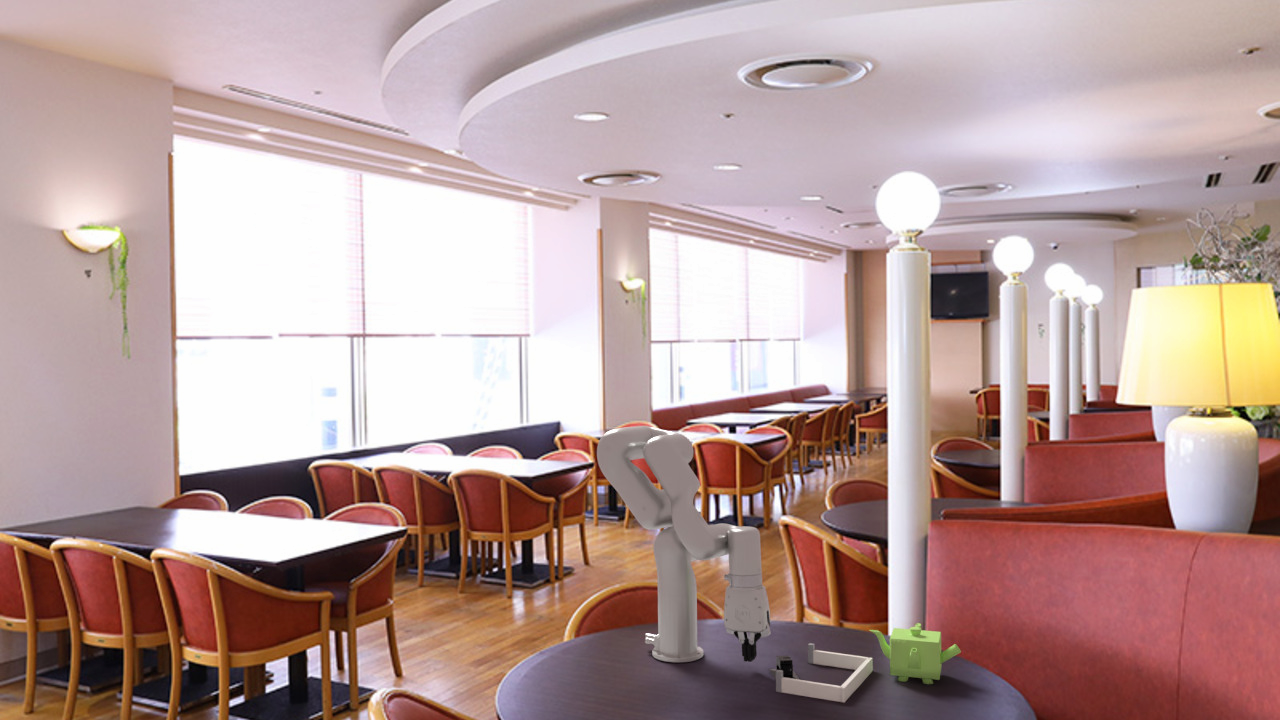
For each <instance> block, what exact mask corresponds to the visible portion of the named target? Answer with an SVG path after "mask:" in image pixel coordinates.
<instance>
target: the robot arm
mask: <svg viewBox="0 0 1280 720" xmlns="http://www.w3.org/2000/svg"><path fill="white" fill-rule="evenodd" d="M693 457H694V447H693V444H692V442H691V440H690V439H689V437H687V436H685V435H684V434H681V433H679V432H674V431H670V430H666V429H661V428H657V427H653V426H649V425H648V426H647V425H637V426H636V425H635V426H627V427H618V428H613V429H611V430H609V431H606V432H605V433H604V434H603V435H602V436H601V437H600V439H599V441H598V444H597V448H596V458H597V464H598V467H599V469H600V471H601V473H602V474H603V476H604V478H606V480H607V481H608V482H609V483H610V485H611V486H612V487H613V489H615V491H616V492H617V493H618V495H619V497H620V498H621V499H622V501H623V502H624V504H625V505H626V506H627V509H629V511H630V512H631V514H632V515H633V516H634V519H636V521H637V522H638V524H640V526H641V527H642V528H643V529H645V530H649V531H655V530H659V529H660V531H659V533H658V534H657V535H656V536H655V539H654V542H653V545H652V546H653V547H652V548H653V555H654V562H655V566H656V573H657V575H656V576H657V628H658V629H657V630H658V631H657V633H658V634H653V633H648V632H647V633H645V637H644V643H645V644H648V645H653V646H654V648H653V649H652V651H651V655H652V657H653V658H654V659H656V660H657V661H663V662H667V663H689V662H695V661H698V660H700V659H701V658H703V657H704V649H703V648H702V647H701V646H699V645H698V607H697V605H698V604H697V603H698V602H697V601H698V600H697V599H698V598H697V597H698V596H697V595H698V594H697V593H698V592H697V579H696V575H695V571H694V569H693V565H692V562H695V561H710V560H713V559H716V558H720V557H724V556H727V555H728V568H729V569H728V571H729V572H728V574H724V577H723V578H724V580H725V581H727V582H728V584H729V585H727V586H726V588H725V594H724V595H725V596H724V604H723V605H724V610H723V611H724V612H723V623H724V628H725V631H726V633H728V634H730V635H733V636H735V637H736V639H737V640H738V642H739V643H740V644H741V656H742V657H743V662H748V663H751V662H753V661H755V659H756V658H757V652H758V651H757V642H758V641H759V640H760V639H761V638H766V637H767V638H768V637H769V636H770V635H771V634H772V633H771V628H770V626H771V610H770V605H769V598H768V597H769V596H768V593H767V590H766V586H765V585H763V572H762V568H763V567H762V551H761V549H762V548H761V533H760V530H759V529H758V528H757V527H754V526H749V525H748V526H747V525H746V526H745V525H744V526H743V525H742V526H736V525H733V524H729V523H716V524H712V525H709V524H708V522H707V521H706V520H705V519H704V517H703V516H702V514H701V513H700V511H699V510H698V509H697V508H696V506H695V505H694V498H695V495H696V493H697V492H698V491H699V490H700V488H701V487H700V486H701V483H700V482H701V481H700V480H699V479H698V477H697V475H696V474H695V472H694V471H693V469H692V468H691V466H690V462H691V461H692V460H693ZM640 459H644V460H645V462H646V464H647V466H648V467H649V469H650V470H651V472H652V473H653V475H654V477H655V478H656V480H657V481H658V483H659V484H660V486H661V488H662V489H660V488H658V487H656V486H655V485H654V483H653V482H652V481H651V479H650V478H649V477H648V475H647V474H646V473H645V472H644V471H643V470H642V469H640V467H638V466H637V465H635V464H634V463H633V462H632V461H634V460H635V461H636V460H640ZM663 528H664V529H663ZM661 529H662V530H661ZM748 633H749V634H748Z"/></svg>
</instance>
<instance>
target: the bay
mask: <svg viewBox="0 0 1280 720" xmlns="http://www.w3.org/2000/svg"><path fill="white" fill-rule="evenodd" d="M815 644H816V643H808V644H807V646H808V647H807V655H808V656H807V661H808V664H811V665H819V666H825V667H826V666H828V667H835V668H840V669H848V670H854V672H853V673H851V674H850V676H849V677H848V678H847V679H846V680H845V681H844V682H843V683H842V684H841V685H837V684H830V683H824V682H823V683H822V682H817V681H816V682H815V681H811V680H803V679H800V680H798V679H792V678H785V677H783V671H782V670H777V671H776V680H775V692H777V693H784V694H789V695H795V696H801V697H802V696H803V697H809V698H814V699H820V700H826V701H833V702H840V703H846V701H847V700H848V699H849V698H850V697H851V696H852V695H853V694H854V692H856V690H857V689H858V688H859V687H860V686H861V685H862V684H863V682H864V681H866V679H867V678H868V677H869V675H870V674H872V673H873V671H874V667H873V657H869V656H861V655H855V654H847V653H846V654H845V653H840V652H833V651H825V650H818V649H815Z"/></svg>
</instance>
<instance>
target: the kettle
mask: <svg viewBox="0 0 1280 720" xmlns="http://www.w3.org/2000/svg"><path fill="white" fill-rule="evenodd" d="M869 631H870V632H871V633H873V634H874V635H875V636H876V637H877V639H878V642H879V645H880V646H879V647H880V648H881V651H882V653H883V655H884V656H885V657H886V658H887V659H889V675H890V676H895V677H896V676H898V678H897V679H896V680H897V681H899V682H902V683H903V682H908V681H909V678H916V679H921V680H922V681H921V682H922V683H923V684H924V685H925V684H926V685H933V684H934V681H933V680H935V681H936V680H937V681H939V680H940V679H941V673H942V664H943V663H945V662H946V661H949V660H950V659H951V658H953V657H955V656H956V655H958V654H960V653H961V652H962V651H961V649H960V648H959V646H958V645H957V644H956V643H954V644H953V645H952V646H949V647H948V648H946V649H945V650H943V651H942V632H941V631H935V630H934V631H932V630H924V629H923V630H922V624H921V623H919V622H917V623H916V624H915V625H914V626H911V627H910V628H899V627H897V628H896V627H893V629H892V632H891V635H890V637H889V644H888V643H887V640H886V638H885V636H884V633H882V631H879V630H878V629H869Z"/></svg>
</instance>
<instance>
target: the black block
mask: <svg viewBox="0 0 1280 720" xmlns="http://www.w3.org/2000/svg"><path fill="white" fill-rule="evenodd" d="M775 661H776V662H775V663H776V664H775V665H776V666H775V667H776V668H771V669H770V668H769V669H768V671H769V673H770V674H771V675H772V677H773V678H774V680H775V681H776V671H777V670H782V671H783V677H785V678H792V679H798V680H801V679H800V678H799V676H798V675H797V674H796V672H795V671H794V664H793V659H792V658H791V656H790V655H789V654H788V655H776V660H775Z"/></svg>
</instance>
